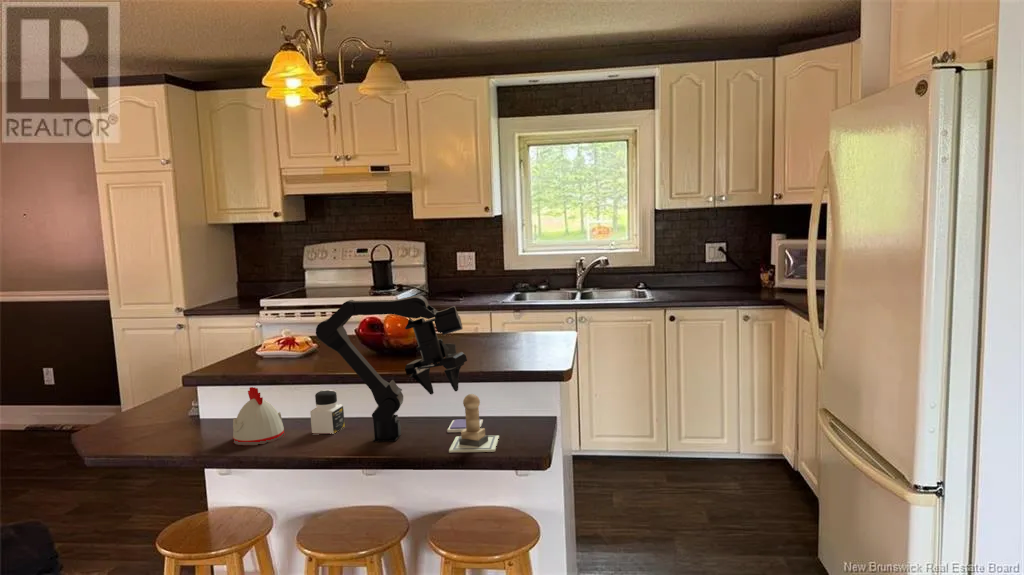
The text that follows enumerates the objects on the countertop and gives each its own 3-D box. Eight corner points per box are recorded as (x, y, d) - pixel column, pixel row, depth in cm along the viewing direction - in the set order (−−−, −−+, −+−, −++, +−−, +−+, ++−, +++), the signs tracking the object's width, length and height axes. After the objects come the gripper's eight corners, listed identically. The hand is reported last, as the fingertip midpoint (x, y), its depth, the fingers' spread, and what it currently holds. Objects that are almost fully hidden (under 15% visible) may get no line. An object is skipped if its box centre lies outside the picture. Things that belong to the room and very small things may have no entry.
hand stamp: (459, 444, 172) (456, 395, 171) (468, 438, 177) (466, 391, 175) (479, 446, 170) (476, 397, 168) (488, 440, 174) (485, 392, 173)
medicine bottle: (334, 435, 188) (330, 394, 187) (311, 434, 189) (308, 394, 188) (345, 427, 195) (342, 388, 194) (323, 427, 196) (320, 388, 195)
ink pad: (447, 432, 185) (447, 428, 185) (453, 422, 194) (452, 418, 194) (478, 431, 184) (478, 427, 184) (482, 422, 193) (482, 418, 193)
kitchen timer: (272, 427, 199) (267, 379, 197) (292, 436, 189) (288, 386, 187) (225, 439, 189) (221, 389, 188) (245, 449, 179) (240, 396, 178)
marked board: (448, 452, 168) (448, 449, 168) (456, 438, 179) (456, 436, 179) (494, 451, 167) (494, 449, 167) (499, 437, 178) (499, 435, 178)
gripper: (470, 326, 181) (486, 378, 183) (421, 335, 192) (437, 385, 193) (445, 338, 172) (463, 393, 173) (396, 347, 183) (413, 399, 184)
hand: (444, 392), depth 181 cm, fingers open, 9 cm apart
